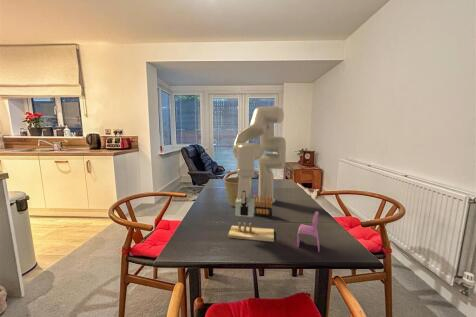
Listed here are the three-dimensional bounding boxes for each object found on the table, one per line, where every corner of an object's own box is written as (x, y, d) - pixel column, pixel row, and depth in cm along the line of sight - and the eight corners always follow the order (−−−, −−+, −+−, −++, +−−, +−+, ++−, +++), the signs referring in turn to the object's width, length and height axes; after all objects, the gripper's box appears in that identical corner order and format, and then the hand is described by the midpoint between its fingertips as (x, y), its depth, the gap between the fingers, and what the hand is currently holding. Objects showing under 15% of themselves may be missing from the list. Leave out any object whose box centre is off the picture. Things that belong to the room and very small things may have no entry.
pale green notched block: (237, 211, 97) (237, 198, 96) (254, 212, 95) (254, 199, 95) (235, 215, 92) (235, 201, 91) (253, 217, 91) (253, 202, 90)
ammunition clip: (252, 214, 116) (253, 194, 114) (253, 213, 118) (253, 193, 116) (272, 216, 114) (272, 195, 112) (272, 215, 116) (272, 194, 114)
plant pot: (238, 211, 121) (238, 184, 119) (219, 205, 130) (219, 180, 127) (252, 203, 133) (253, 179, 130) (234, 198, 142) (234, 176, 139)
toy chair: (298, 238, 92) (299, 206, 90) (319, 242, 89) (321, 209, 86) (296, 248, 84) (297, 213, 82) (319, 253, 81) (321, 217, 79)
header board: (231, 227, 101) (231, 217, 100) (273, 231, 98) (274, 220, 97) (228, 237, 92) (228, 226, 92) (273, 241, 89) (274, 230, 88)
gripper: (240, 169, 100) (239, 205, 102) (233, 176, 83) (233, 219, 86) (255, 169, 99) (254, 206, 101) (252, 177, 82) (251, 221, 85)
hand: (244, 212), depth 94 cm, fingers closed on pale green notched block, 4 cm apart
